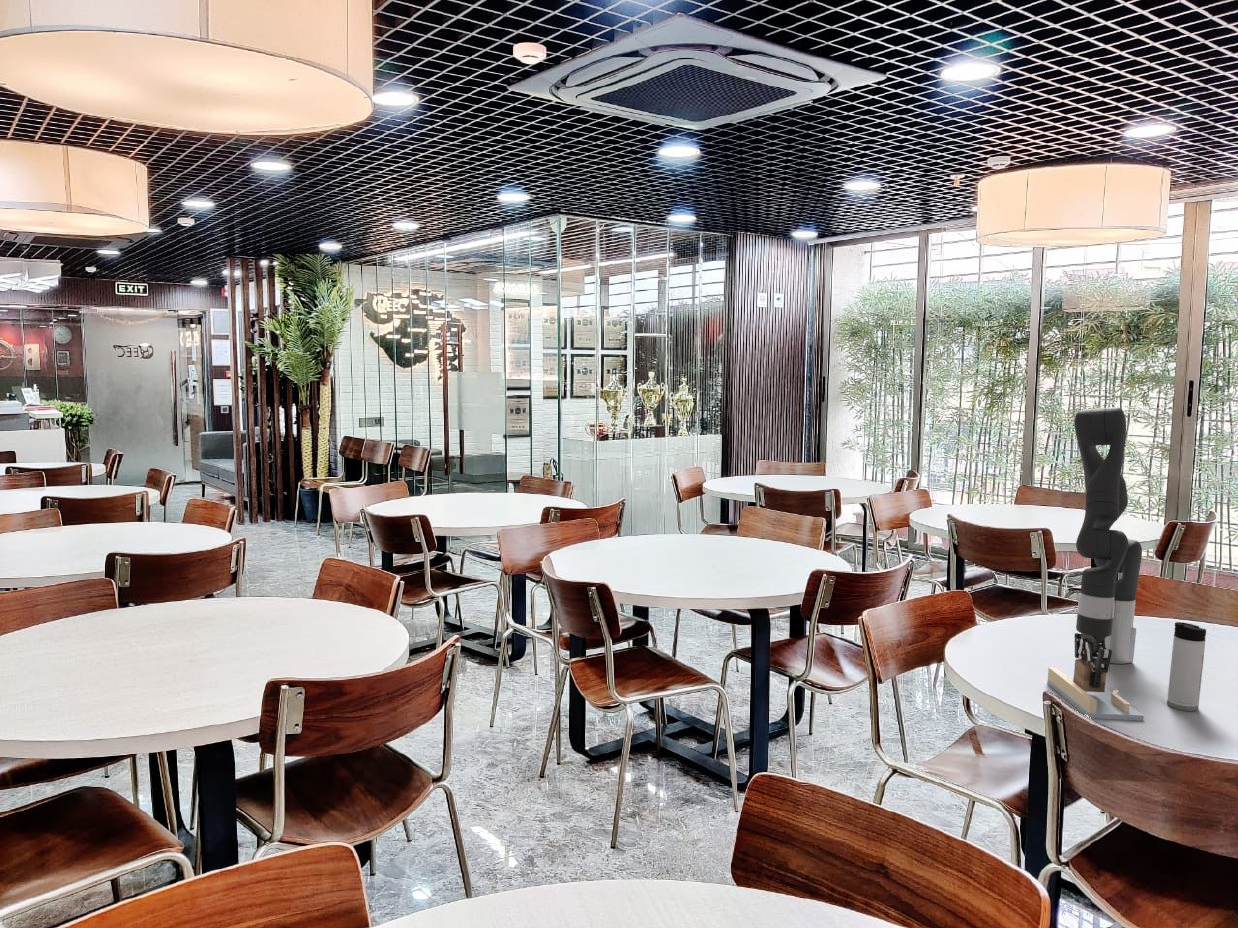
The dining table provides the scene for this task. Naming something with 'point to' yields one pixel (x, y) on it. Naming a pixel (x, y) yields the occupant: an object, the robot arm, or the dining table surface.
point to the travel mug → (1186, 667)
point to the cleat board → (1092, 699)
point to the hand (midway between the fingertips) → (1088, 682)
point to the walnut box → (1086, 676)
